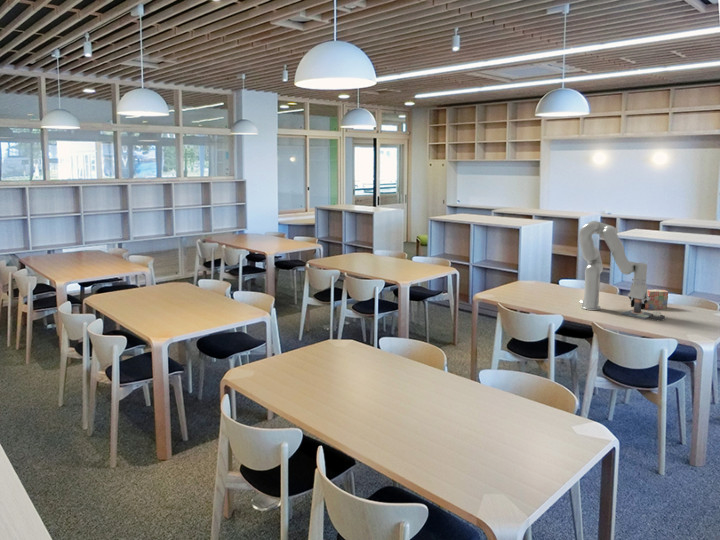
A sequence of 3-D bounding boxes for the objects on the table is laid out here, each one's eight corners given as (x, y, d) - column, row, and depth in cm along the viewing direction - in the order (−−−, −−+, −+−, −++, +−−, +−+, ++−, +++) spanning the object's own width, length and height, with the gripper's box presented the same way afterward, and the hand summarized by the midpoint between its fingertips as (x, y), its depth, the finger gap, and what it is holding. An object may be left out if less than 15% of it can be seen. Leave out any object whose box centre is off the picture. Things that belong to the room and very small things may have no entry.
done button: (651, 316, 381) (651, 312, 380) (655, 315, 383) (656, 311, 383) (658, 317, 377) (658, 314, 377) (662, 316, 379) (662, 312, 379)
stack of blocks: (634, 308, 407) (636, 291, 405) (631, 306, 413) (632, 289, 411) (667, 308, 405) (668, 291, 403) (663, 306, 411) (664, 289, 409)
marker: (632, 311, 395) (632, 298, 393) (636, 310, 397) (637, 297, 395) (638, 313, 391) (639, 299, 389) (642, 312, 393) (643, 298, 392)
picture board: (620, 313, 395) (620, 312, 394) (633, 310, 402) (633, 309, 401) (644, 319, 380) (644, 317, 380) (657, 316, 387) (657, 314, 387)
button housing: (648, 318, 382) (649, 315, 381) (655, 317, 385) (655, 313, 384) (658, 320, 376) (658, 317, 376) (664, 319, 379) (665, 315, 379)
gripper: (624, 280, 395) (622, 306, 399) (648, 284, 381) (646, 311, 384) (631, 278, 399) (629, 304, 403) (655, 283, 385) (653, 309, 388)
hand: (637, 307), depth 393 cm, fingers open, 6 cm apart
